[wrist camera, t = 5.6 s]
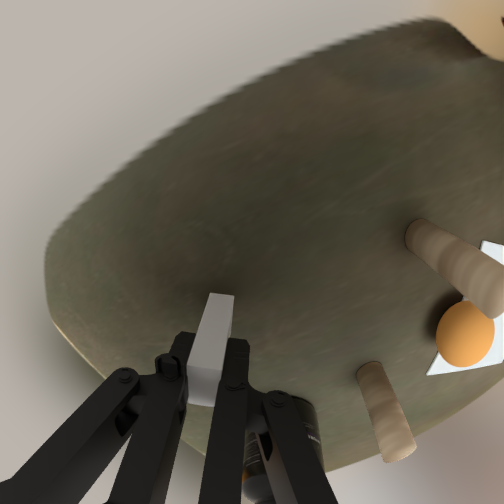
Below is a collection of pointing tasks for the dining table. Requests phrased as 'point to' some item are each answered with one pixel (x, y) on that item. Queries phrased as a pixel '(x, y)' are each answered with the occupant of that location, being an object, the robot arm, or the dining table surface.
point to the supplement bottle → (253, 465)
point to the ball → (464, 335)
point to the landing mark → (500, 347)
